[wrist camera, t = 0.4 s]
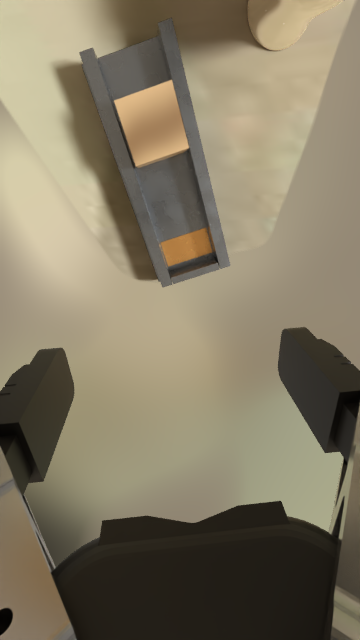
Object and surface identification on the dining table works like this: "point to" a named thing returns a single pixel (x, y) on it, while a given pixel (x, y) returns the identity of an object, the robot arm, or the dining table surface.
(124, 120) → the oak block
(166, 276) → the chute
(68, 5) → the dining table surface
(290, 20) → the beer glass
